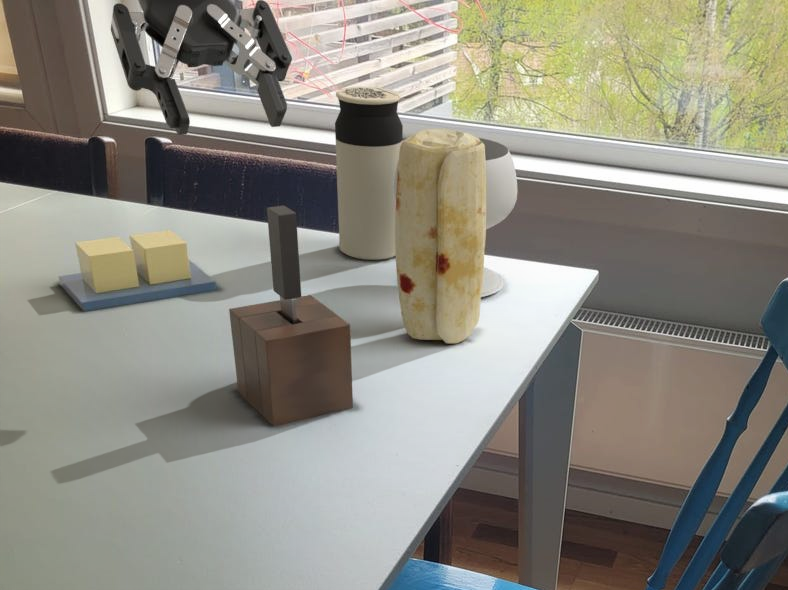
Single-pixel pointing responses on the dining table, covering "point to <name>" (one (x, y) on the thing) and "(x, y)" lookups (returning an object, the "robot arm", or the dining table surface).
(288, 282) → the knife
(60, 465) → the dining table surface
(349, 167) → the travel mug
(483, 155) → the food model
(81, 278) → the butter
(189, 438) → the dining table surface
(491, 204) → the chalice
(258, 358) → the knife block
